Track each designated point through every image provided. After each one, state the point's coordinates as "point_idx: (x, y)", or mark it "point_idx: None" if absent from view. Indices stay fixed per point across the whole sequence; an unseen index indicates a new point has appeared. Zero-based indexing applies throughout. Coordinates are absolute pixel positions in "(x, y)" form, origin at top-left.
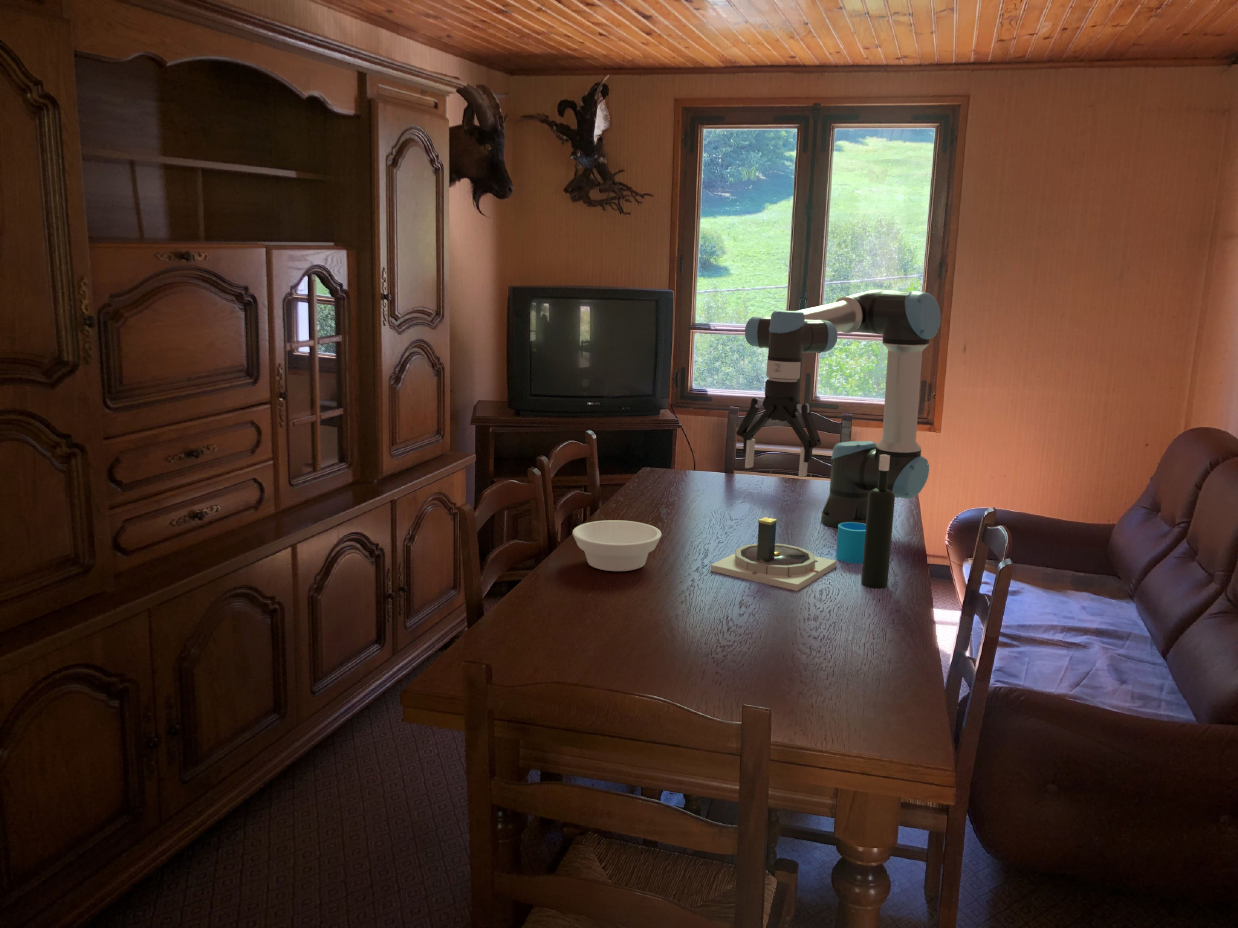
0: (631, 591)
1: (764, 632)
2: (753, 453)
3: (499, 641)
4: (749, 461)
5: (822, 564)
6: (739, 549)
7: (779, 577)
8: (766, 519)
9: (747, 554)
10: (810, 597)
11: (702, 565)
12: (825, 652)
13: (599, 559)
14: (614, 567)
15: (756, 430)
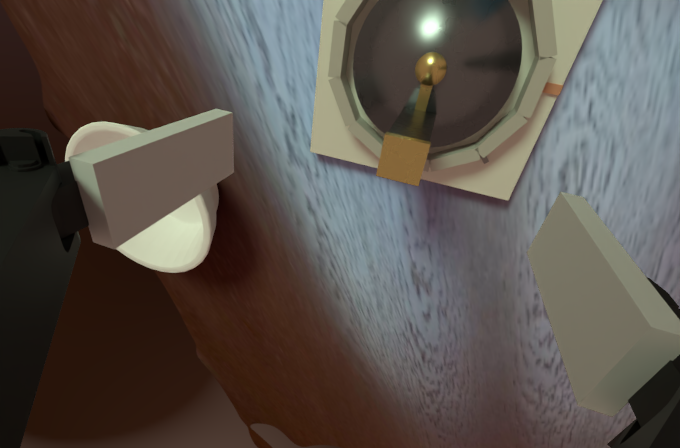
0: (263, 276)
1: (471, 359)
2: (181, 140)
3: (247, 398)
4: (213, 170)
5: (578, 3)
6: (335, 70)
7: (462, 172)
8: (397, 159)
9: (365, 103)
10: (537, 220)
11: (287, 120)
12: (562, 399)
13: (174, 236)
14: (199, 227)
15: (46, 279)
